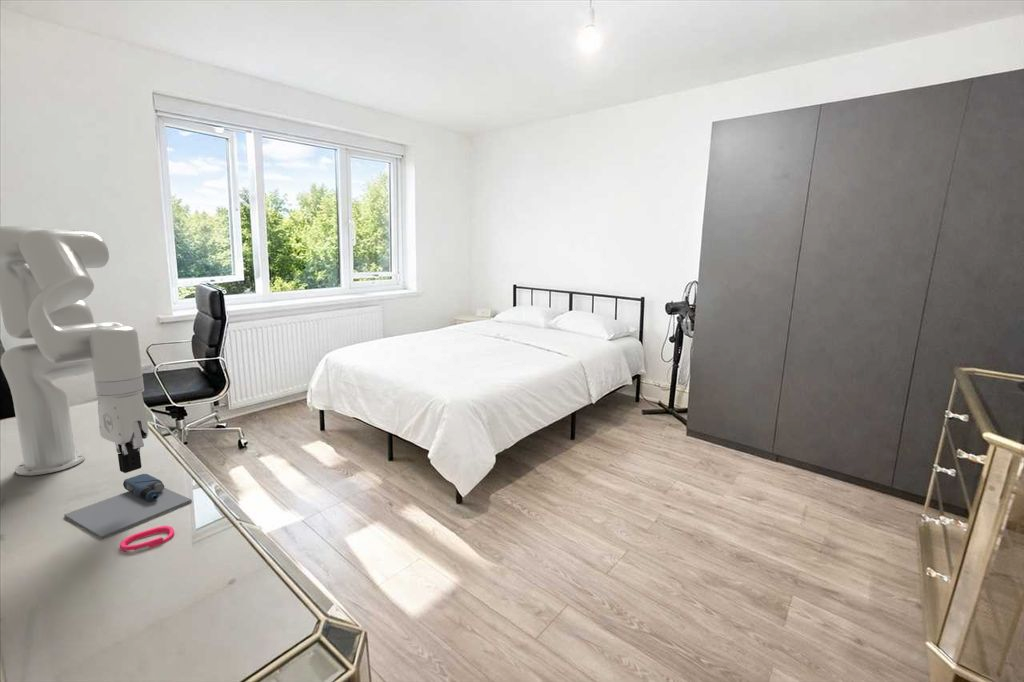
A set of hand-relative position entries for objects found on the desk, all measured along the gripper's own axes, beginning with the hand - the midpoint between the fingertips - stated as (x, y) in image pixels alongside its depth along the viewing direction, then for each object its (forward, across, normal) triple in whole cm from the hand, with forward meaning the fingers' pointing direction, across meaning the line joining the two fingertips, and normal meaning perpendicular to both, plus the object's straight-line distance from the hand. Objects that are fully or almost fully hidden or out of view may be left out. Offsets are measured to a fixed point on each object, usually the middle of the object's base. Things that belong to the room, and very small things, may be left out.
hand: (131, 469), depth 98 cm
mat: (+9, 0, -1) cm, 9 cm away
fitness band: (+9, +16, -5) cm, 19 cm away
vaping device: (+7, -10, +4) cm, 12 cm away
